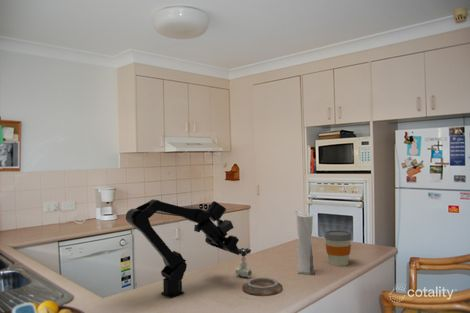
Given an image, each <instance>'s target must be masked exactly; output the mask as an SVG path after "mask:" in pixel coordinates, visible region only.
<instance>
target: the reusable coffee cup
mask: <svg viewBox="0 0 470 313" xmlns="http://www.w3.org/2000/svg"><path fill="white" fill-rule="evenodd" d="M324 239H325V249H326V254H327V258H328V264H329V265H331V266H335V267H336V266H337V267H344V266H348V265H349V260H350V259H349V258H350V255H351V247H352V244H351V240H352V234H351V231H347V230H346V231H345V230H327V231H325V232H324Z"/></svg>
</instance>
